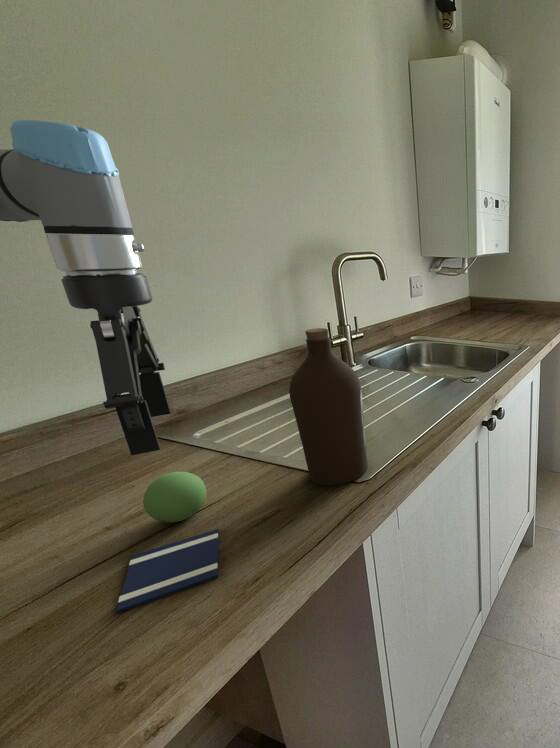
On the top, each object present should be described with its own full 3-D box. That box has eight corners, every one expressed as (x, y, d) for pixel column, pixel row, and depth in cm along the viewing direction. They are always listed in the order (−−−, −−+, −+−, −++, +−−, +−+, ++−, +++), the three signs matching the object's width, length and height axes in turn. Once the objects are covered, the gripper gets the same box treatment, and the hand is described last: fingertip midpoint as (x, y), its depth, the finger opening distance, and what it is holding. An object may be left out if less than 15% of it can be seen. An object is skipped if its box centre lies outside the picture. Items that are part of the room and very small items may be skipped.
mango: (151, 501, 61) (138, 468, 57) (209, 488, 64) (200, 456, 61) (149, 539, 56) (134, 507, 52) (211, 522, 60) (202, 491, 56)
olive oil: (321, 496, 64) (292, 340, 56) (296, 472, 71) (267, 330, 63) (382, 470, 71) (365, 329, 63) (354, 450, 78) (335, 321, 70)
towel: (133, 557, 52) (132, 554, 52) (218, 531, 56) (217, 528, 56) (117, 613, 44) (115, 610, 44) (218, 577, 49) (217, 573, 48)
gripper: (126, 279, 42) (180, 462, 49) (157, 266, 61) (192, 398, 68) (18, 282, 38) (93, 481, 45) (88, 268, 57) (133, 408, 64)
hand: (153, 431), depth 56 cm, fingers open, 13 cm apart
